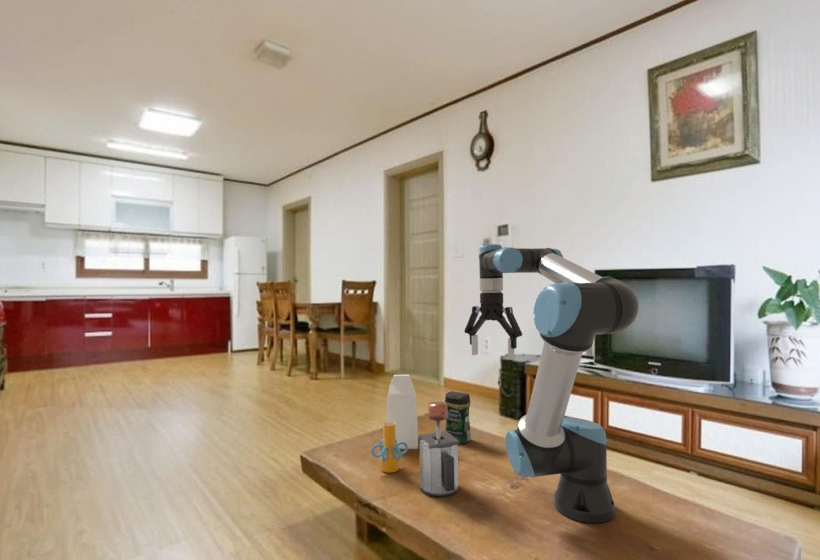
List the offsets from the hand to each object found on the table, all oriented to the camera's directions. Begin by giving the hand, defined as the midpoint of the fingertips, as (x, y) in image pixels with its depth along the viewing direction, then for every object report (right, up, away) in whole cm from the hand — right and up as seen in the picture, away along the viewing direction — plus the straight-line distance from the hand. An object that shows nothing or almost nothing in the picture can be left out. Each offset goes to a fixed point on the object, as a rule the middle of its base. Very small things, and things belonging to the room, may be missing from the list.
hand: (492, 356), depth 142 cm
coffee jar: (-8, -37, +26) cm, 46 cm away
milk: (-30, -38, +24) cm, 54 cm away
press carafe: (-18, -37, -14) cm, 43 cm away
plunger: (-18, -34, -13) cm, 41 cm away
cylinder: (-34, -37, +1) cm, 50 cm away
